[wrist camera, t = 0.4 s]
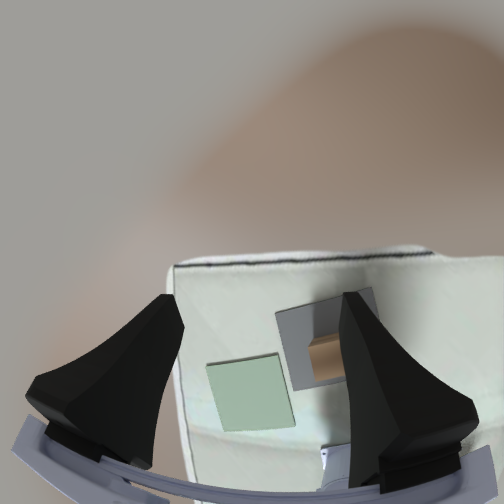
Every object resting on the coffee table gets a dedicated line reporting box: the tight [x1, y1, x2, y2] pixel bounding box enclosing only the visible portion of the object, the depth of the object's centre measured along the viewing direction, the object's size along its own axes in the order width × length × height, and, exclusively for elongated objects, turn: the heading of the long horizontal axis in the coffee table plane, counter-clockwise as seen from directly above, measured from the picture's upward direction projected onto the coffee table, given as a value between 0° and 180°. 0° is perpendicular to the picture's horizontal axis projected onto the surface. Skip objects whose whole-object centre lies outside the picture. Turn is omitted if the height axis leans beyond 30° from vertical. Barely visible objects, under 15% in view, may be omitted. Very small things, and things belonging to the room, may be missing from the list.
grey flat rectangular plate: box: [275, 287, 380, 391], centre depth 35 cm, size 12×14×1 cm
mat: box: [206, 355, 296, 432], centre depth 38 cm, size 12×12×1 cm
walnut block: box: [308, 332, 345, 382], centre depth 32 cm, size 4×7×6 cm, turn 104°
